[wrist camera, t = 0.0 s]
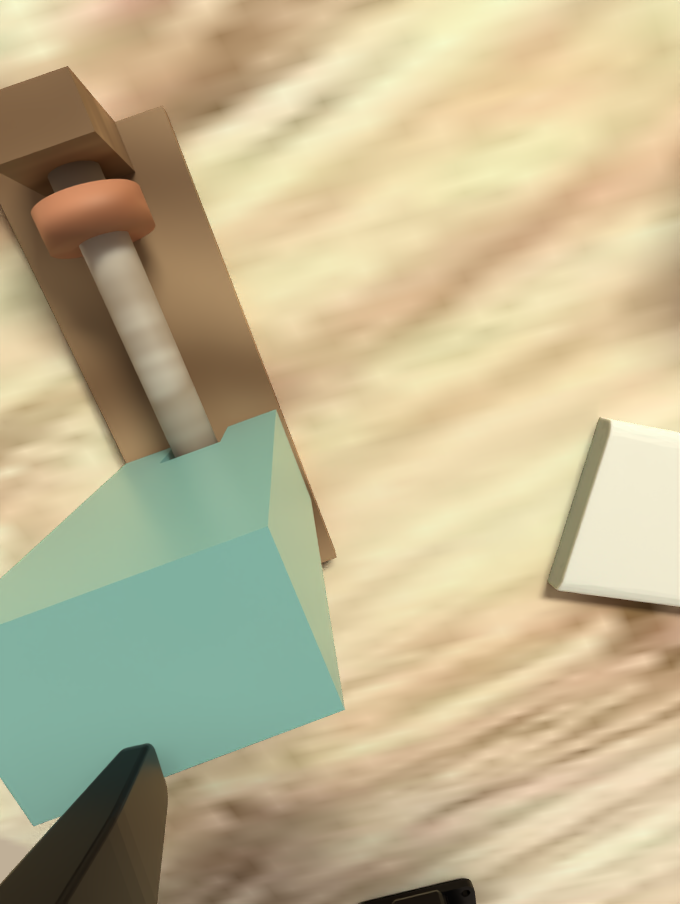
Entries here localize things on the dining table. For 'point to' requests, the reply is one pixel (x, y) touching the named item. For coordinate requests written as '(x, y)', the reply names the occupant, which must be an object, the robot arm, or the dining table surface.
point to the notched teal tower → (166, 620)
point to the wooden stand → (131, 270)
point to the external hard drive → (624, 518)
